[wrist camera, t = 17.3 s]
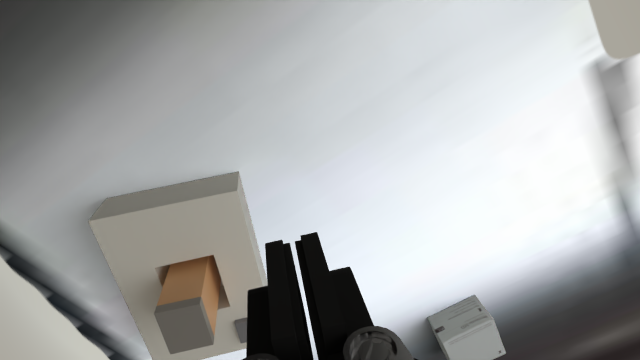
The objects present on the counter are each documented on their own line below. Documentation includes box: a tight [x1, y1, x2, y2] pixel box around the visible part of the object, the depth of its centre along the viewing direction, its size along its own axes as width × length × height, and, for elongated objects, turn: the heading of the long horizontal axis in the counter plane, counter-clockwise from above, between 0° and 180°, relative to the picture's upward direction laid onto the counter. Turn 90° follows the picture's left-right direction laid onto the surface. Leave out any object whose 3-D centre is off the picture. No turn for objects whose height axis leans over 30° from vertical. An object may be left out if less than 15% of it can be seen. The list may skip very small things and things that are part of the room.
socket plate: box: [88, 172, 268, 360], centre depth 42 cm, size 20×14×6 cm
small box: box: [427, 295, 506, 360], centre depth 53 cm, size 8×8×5 cm
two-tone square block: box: [154, 255, 221, 354], centre depth 39 cm, size 5×4×10 cm
